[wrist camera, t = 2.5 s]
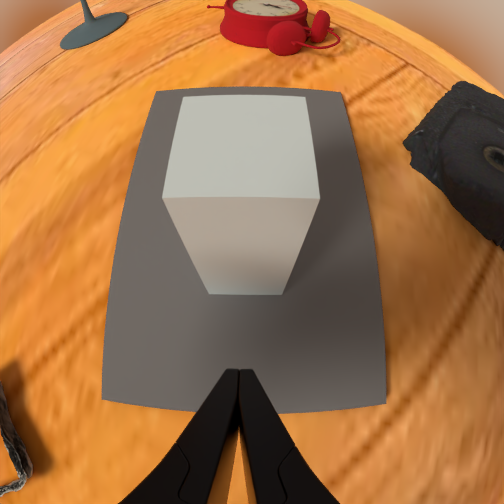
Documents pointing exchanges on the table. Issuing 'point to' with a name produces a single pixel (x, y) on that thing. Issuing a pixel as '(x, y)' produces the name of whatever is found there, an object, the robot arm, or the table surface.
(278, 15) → the alarm clock
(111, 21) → the cocktail glass
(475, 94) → the dark slate chunk
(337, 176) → the rubber mat
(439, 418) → the table surface
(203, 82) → the table surface
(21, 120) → the table surface
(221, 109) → the painted block
